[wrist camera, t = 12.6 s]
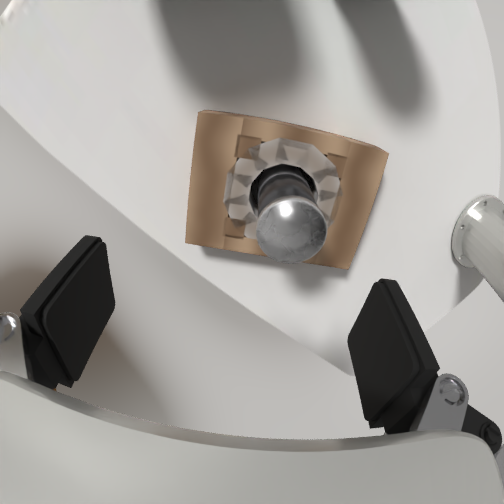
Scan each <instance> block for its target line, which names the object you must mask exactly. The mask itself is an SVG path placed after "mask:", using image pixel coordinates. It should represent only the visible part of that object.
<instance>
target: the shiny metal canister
mask: <svg viewBox="0 0 504 504" xmlns="http://www.w3.org/2000/svg"><path fill="white" fill-rule="evenodd" d="M256 237H257V241H258V244H259V246H260V248H261V249H262V251H263V252H264V253H265V254H266V255H267V256H268V257H270V258H271V259H273V260H275V261H278V262H282V263H299V262H303V261H305V260H308V259H310V258H311V257H313V256H314V255H315V254H317V253H318V252H319V251H320V249H321V248H322V247H323V245H324V243H325V240H326V237H327V224H326V221H325V218H324V216H323V214H322V212H321V210H320V209H319V207H318V205H317V203H316V201H315V199H314V197H313V194H312V192H311V189H310V187H309V185H308V183H307V181H306V179H305V177H304V175H303V174H302V172H301V171H300V170H299V169H298V168H297V167H295V166H292V165H287V164H278V165H275V166H272V167H269V168H267V169H266V170H265V171H264V172H263V174H262V175H261V177H260V180H259V189H258V220H257V226H256Z"/></svg>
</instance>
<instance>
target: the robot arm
mask: <svg viewBox="0 0 504 504" xmlns="http://www.w3.org/2000/svg"><path fill="white" fill-rule="evenodd" d="M106 249H107V248H106V244H105V243H104V242H102V239H101V238H100V237H94V236H88V235H86V236H84V237H83V238H82V239H81V240H80V241H79V242H78V243H77V244H76V245H75V246H74V247H73V248H72V249H71V250H70V252H69V253H68V254H67V255H66V256H65V257H64V258H63V259H62V260H61V261H60V263H59V264H58V265H57V266H56V267H55V268H54V269H53V270H52V271H51V273H50V274H49V275H48V276H47V277H46V278H45V280H44V281H43V282H42V283H41V284H40V286H39V287H38V288H37V289H36V290H35V292H34V293H33V294H32V295H31V297H30V298H29V299H28V300H27V302H26V303H25V304H24V306H23V307H22V308H21V309H20V311H21V313H22V315H21V316H20V317H19V318H18V317H17V315H15V314H13V313H9V312H6V313H1V314H0V504H504V444H503V445H501V444H502V436H501V432H500V429H499V427H498V426H497V425H496V424H495V423H494V422H492V421H491V420H490V419H488V418H487V417H485V416H484V415H483V414H481V413H480V412H478V411H477V410H475V409H474V408H473V407H471V406H470V405H468V399H469V395H468V390H467V388H466V386H465V384H464V383H463V382H462V381H461V380H460V379H459V378H458V377H456V376H454V375H452V374H442V375H441V376H439V377H438V374H437V371H438V370H439V369H440V367H439V365H438V363H437V360H436V358H435V356H434V354H433V352H432V349H431V347H430V345H429V343H428V341H427V339H426V337H425V335H424V332H423V330H422V328H421V326H420V324H419V322H418V320H417V318H416V316H415V314H414V312H413V310H412V309H411V307H410V305H409V303H408V301H407V299H406V297H405V295H404V293H403V292H402V290H401V288H400V286H399V284H398V283H397V281H395V280H390V279H380V280H379V281H378V282H375V283H374V284H373V286H372V288H371V291H370V293H369V295H368V297H367V299H366V301H365V303H364V305H363V307H362V309H361V311H360V313H359V315H358V317H357V319H356V321H355V323H354V325H353V327H352V329H351V331H350V333H349V335H348V347H349V351H350V355H351V359H352V364H353V368H354V372H355V376H356V381H357V385H358V390H359V394H360V399H361V404H362V409H363V414H364V418H365V420H367V421H369V426H370V428H379V427H384V429H385V433H384V435H382V436H372V437H359V438H346V439H324V440H322V439H320V440H319V439H318V440H294V439H268V438H254V437H241V436H232V435H224V434H216V433H209V432H203V431H196V430H190V429H185V428H179V427H175V426H170V425H165V424H160V423H156V422H151V421H147V420H143V419H139V418H136V417H132V416H128V415H124V414H120V413H118V412H114V411H111V410H108V409H104V408H101V407H98V406H95V405H92V404H90V403H87V402H84V401H81V400H78V399H76V398H73V397H70V396H67V395H64V394H62V393H59V392H57V390H56V386H57V385H58V383H60V384H62V385H65V386H67V387H70V388H71V387H72V385H73V383H74V381H77V380H78V379H79V378H80V376H81V374H82V372H83V370H84V368H85V365H86V364H87V361H88V359H89V357H90V355H91V353H92V351H93V349H94V347H95V345H96V343H97V341H98V339H99V337H100V335H101V334H102V332H103V330H104V328H105V326H106V324H107V322H108V320H109V318H110V316H111V315H112V313H113V311H114V308H115V298H114V293H113V287H112V281H111V275H110V269H109V263H108V256H107V250H106ZM452 251H453V254H454V257H455V258H456V260H457V261H458V262H459V263H460V264H461V265H462V266H464V267H467V268H474V267H476V269H477V270H478V271H479V272H480V273H481V274H482V276H483V277H484V278H485V279H486V281H487V282H488V283H489V284H490V285H491V287H492V288H493V289H494V291H495V292H496V293H497V294H498V296H499V297H500V298H501V300H502V301H503V302H504V204H503V203H502V202H501V201H500V200H499V199H498V198H496V197H494V196H490V195H485V196H481V197H479V198H477V199H475V200H474V201H472V202H471V203H470V204H469V205H468V206H467V207H466V209H465V210H464V211H463V212H462V214H461V216H460V217H459V219H458V221H457V223H456V225H455V229H454V232H453V237H452Z"/></svg>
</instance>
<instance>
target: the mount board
mask: <svg viewBox="0 0 504 504" xmlns="http://www.w3.org/2000/svg"><path fill="white" fill-rule="evenodd" d="M388 155H389V153H387V152H386V151H384V150H382V149H380V148H379V147H377V146H374V145H371V144H368V143H365V142H361V141H358V140H355V139H351V138H348V137H344V136H341V135H337V134H333V133H329V132H325V131H321V130H317V129H313V128H309V127H305V126H300V125H296V124H291V123H286V122H281V121H276V120H271V119H265V118H260V117H254V116H248V115H241V114H235V113H227V112H220V111H212V110H204V111H201V112H198V117H197V125H196V132H195V140H194V149H193V158H192V167H191V176H190V187H189V198H188V210H187V223H186V238H185V243H188V244H194V245H200V246H206V247H212V248H218V249H224V250H230V251H237V252H243V253H249V254H255V255H261V256H267V255H266V254H265V253H264V252H263V251H262V249H261V248H260V246H259V244H258V241H257V237H256V226H257V220H258V204H257V203H256V202H255V199H254V197H253V194H252V192H251V183H252V182H253V181H254V180H255V178H256V177H257V176H258V175H259V174H260V173H261V172H262V171H263V170H264V169H266V168H269V167H272V166H275V165H278V164H287V165H292V166H297V167H301V168H302V169H303V170H304V171H305V172H306V173H308V174H309V175H310V177H311V180H312V183H313V185H312V189H311V192H312V194H313V197H314V199H315V201H316V203H317V205H318V207H319V209H320V210H321V212H322V214H323V216H324V218H325V221H326V224H327V237H326V240H325V243H324V245H323V247H322V248H321V249H320V251H319V252H318V253H317V254H315V255H314V256H313V257H311V258H310V259H308V260H305V261H303V262H304V263H310V264H316V265H323V266H329V267H335V268H341V269H347V270H348V269H349V267H350V264H351V262H352V259H353V257H354V254H355V252H356V249H357V247H358V244H359V241H360V239H361V236H362V233H363V231H364V228H365V225H366V223H367V220H368V217H369V214H370V211H371V209H372V206H373V203H374V200H375V197H376V194H377V191H378V188H379V185H380V182H381V178H382V175H383V172H384V169H385V165H386V162H387V159H388ZM267 257H268V256H267Z"/></svg>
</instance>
